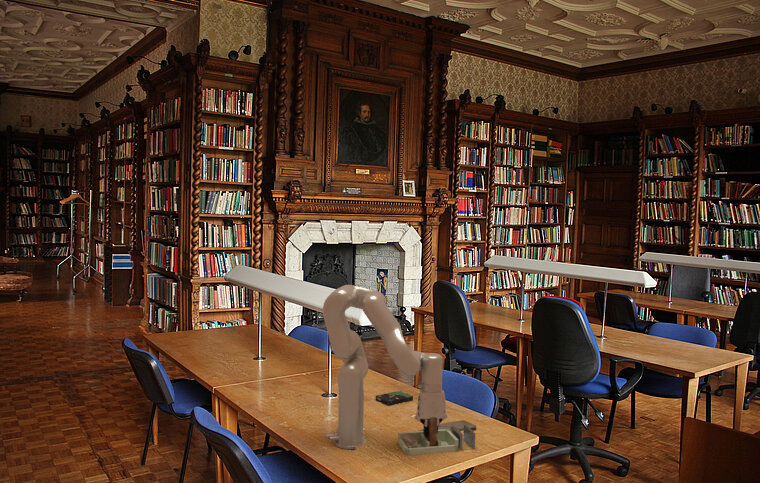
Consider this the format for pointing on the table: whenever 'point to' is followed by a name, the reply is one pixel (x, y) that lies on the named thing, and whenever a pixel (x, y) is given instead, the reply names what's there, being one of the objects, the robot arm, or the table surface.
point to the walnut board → (432, 431)
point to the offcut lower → (409, 445)
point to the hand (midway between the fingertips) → (430, 435)
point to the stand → (468, 436)
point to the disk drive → (394, 398)
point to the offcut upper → (410, 440)
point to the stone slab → (456, 425)
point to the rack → (444, 442)
